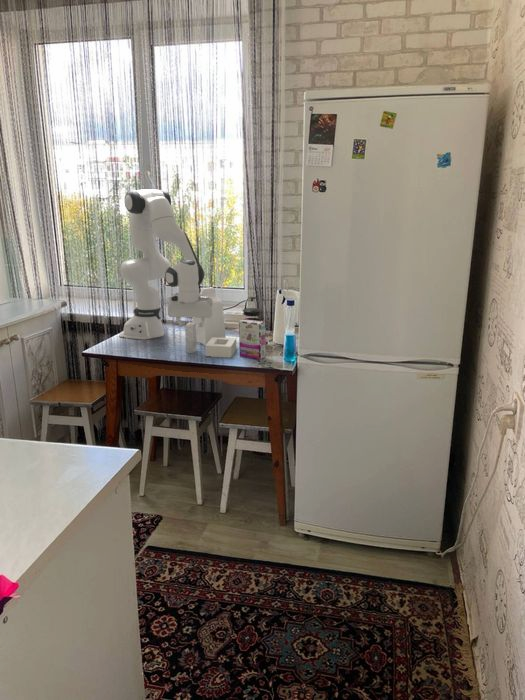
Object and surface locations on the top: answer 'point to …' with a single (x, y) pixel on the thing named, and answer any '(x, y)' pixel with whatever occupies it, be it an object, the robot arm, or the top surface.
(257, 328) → the candy bar box
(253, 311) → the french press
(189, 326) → the block
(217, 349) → the slotted post base
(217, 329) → the milk
